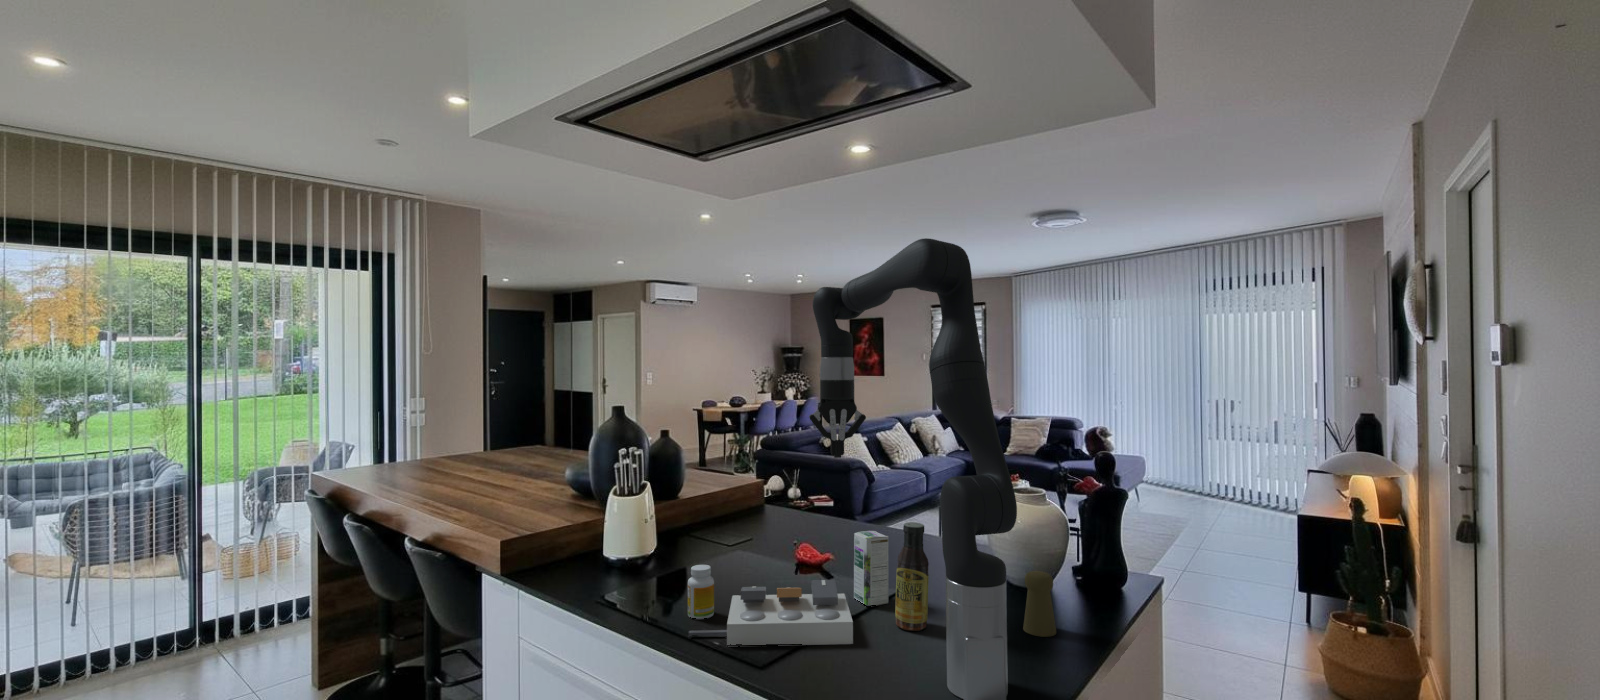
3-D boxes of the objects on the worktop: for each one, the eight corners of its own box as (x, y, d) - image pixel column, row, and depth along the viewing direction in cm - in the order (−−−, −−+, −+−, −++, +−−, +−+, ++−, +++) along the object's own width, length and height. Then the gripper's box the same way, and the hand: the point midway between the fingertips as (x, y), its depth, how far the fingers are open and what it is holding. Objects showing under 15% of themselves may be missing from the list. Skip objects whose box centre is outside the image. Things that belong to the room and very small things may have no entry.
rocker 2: (801, 602, 125) (801, 587, 126) (776, 602, 125) (776, 588, 126) (800, 600, 131) (800, 586, 132) (776, 601, 131) (776, 587, 132)
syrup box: (852, 599, 142) (852, 532, 142) (876, 595, 144) (875, 529, 145) (866, 607, 137) (865, 538, 137) (890, 603, 139) (889, 535, 139)
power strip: (853, 643, 119) (852, 620, 119) (685, 647, 118) (685, 623, 118) (844, 613, 134) (844, 592, 134) (695, 615, 133) (695, 594, 133)
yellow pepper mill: (1059, 637, 121) (1058, 578, 121) (1025, 635, 122) (1024, 576, 122) (1053, 625, 127) (1052, 568, 127) (1021, 623, 128) (1020, 566, 128)
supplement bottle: (719, 613, 134) (719, 566, 134) (701, 622, 129) (701, 572, 130) (700, 608, 137) (700, 561, 137) (682, 616, 132) (682, 568, 133)
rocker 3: (837, 609, 126) (837, 596, 125) (813, 609, 126) (813, 597, 125) (834, 591, 132) (835, 579, 132) (811, 591, 132) (811, 579, 131)
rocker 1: (765, 604, 125) (765, 589, 125) (740, 604, 125) (740, 590, 125) (766, 599, 131) (766, 586, 132) (742, 600, 131) (742, 586, 132)
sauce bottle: (890, 629, 125) (890, 525, 126) (901, 618, 131) (900, 518, 132) (923, 635, 122) (922, 529, 123) (933, 623, 128) (932, 522, 128)
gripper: (807, 378, 139) (808, 460, 138) (869, 378, 139) (870, 459, 139) (806, 378, 146) (806, 455, 146) (864, 377, 147) (865, 454, 146)
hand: (837, 457), depth 142 cm, fingers closed
